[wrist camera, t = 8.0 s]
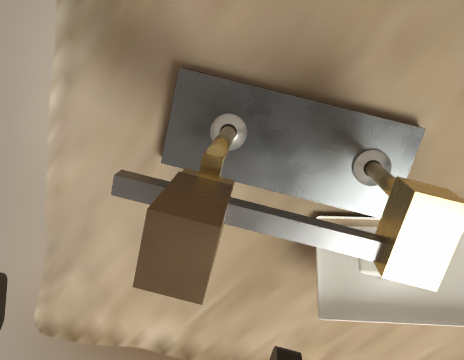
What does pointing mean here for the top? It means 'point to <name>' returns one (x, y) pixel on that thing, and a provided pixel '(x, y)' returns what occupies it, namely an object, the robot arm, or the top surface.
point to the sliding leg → (186, 227)
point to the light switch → (385, 290)
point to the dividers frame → (349, 239)
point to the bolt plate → (288, 141)
